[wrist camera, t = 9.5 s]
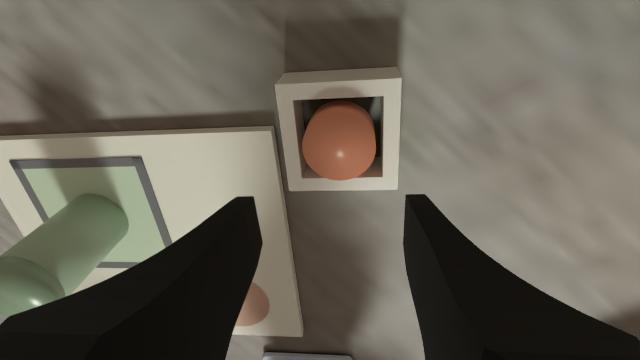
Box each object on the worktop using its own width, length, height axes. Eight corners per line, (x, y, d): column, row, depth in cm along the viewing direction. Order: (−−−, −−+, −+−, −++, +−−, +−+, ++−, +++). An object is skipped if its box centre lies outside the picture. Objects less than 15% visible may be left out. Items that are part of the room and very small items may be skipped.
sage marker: (137, 240, 25) (64, 324, 19) (87, 240, 26) (2, 322, 20) (114, 192, 23) (25, 269, 17) (61, 194, 24) (-43, 269, 18)
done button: (374, 162, 19) (375, 180, 18) (310, 163, 20) (305, 181, 18) (374, 98, 18) (376, 111, 16) (304, 101, 18) (298, 114, 16)
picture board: (303, 328, 29) (302, 338, 29) (86, 321, 32) (79, 329, 31) (273, 125, 21) (270, 131, 20) (-23, 136, 23) (-36, 142, 22)
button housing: (393, 168, 21) (397, 189, 19) (296, 170, 22) (289, 191, 20) (396, 66, 18) (401, 78, 16) (284, 72, 19) (274, 84, 17)
